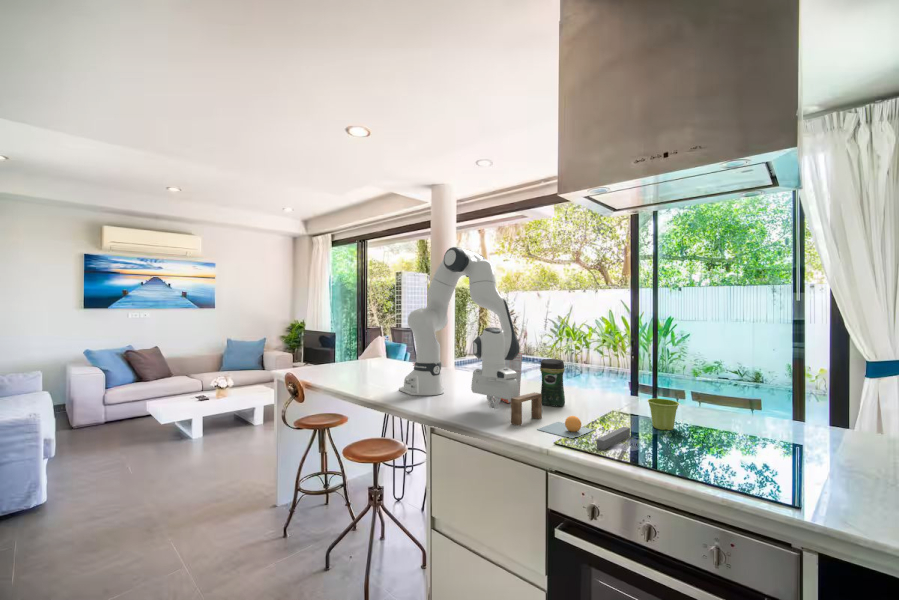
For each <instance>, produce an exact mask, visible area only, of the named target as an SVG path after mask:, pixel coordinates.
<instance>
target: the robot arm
mask: <svg viewBox="0 0 899 600" xmlns="http://www.w3.org/2000/svg"><path fill="white" fill-rule="evenodd" d="M463 276H465V277H466V278H468V283H469V285H468V287H469V295H470V298H471V300H472V301H473V303H474V304H476V305H477V306H478V307H480V308H483V309H486V310H489V311H491V312H493V313H494V314H496V316H497V317H498V319H499V322H500V328H499V327H493V326H492V327H491V326H490V327H487V328H484V329H483V331H482V334H481V335H478V336H476V338H475V339H474V340H473V342H472V344H473V345H472V350H473V351H472V353H473V355H474V356H475V358H477V359H478V360H482V361H481V369H479V368H475V369H474V370H473V372H472V378H471V386H470V388H471V392H472V393H473V394H479V395H484V396H486V399H487V402H488V403H489V404H488V405H489V408H490V409H494V410H498V409H499V404H500V402H501V401H502V400H501V398H503V399H508V400H511V398H514V397H518V383H517V380H516V379H515V377H517V373H516V372H515V371H513V370H512V369H510V368H508V367H506V366H505V360H513V359H514V358H516V357H517V355H518V354H519V353H521V352H520V351H521V348H520V342H519V340H518V337H517V335H516V331H515V328H514V325H513V321H512V316H511V313H510V308H509V306H508V303H507V301H506V298H505V297H503V296H502V295H501V294H500V292H499V291H498V288H497V281H496V276H495V271H494V267H493V264H492V262H491V261H490V260H488V259H487V258H486V257H484V256H483V255H482V254H479V253H477V252H475V251H472V250H468V249H465V248H462V247H458V246H453V247H450V248H448V249H447V250H446V252H445V253H444V256H443V259H442V261H441V262H440V264H439V266H438V267H437V269H436V271H435V272H434V274H433V278H432V280H431V282H430V285H429V287H428V290H427V293H426V295H427V299H428V300H427V305H426V307H421V308H417V309H415V310H412V311H411V312H410V313H409V314H408V316H407V326H408V327H409V329H410V330H411V331H412V334H413V337H414V341H415V347H416V350H415V351H416V352H415V353H416V356H415V358H416V361H415V362H413V363H412V366H413V370H412V371H411V372H410V373H408V374H407V375H406V376H405V377H404V379H403V380H404V381H403V386H401V387H398V391H400V392H403V393H405V394H408V395H410V396H436V395H437V396H438V395H442V394H443V393H444V390H445V389H444V387H443V376H442V372H441V370H442V362H441V344H440V342H439V341H438V339H437V335H436V332H439V331H441V330H443V329H444V328H446V326H447V325H448V322H449V317H448V309H449V305H450V301H451V299H452V296H453V294H454V291H455V289H456V286H457V284H458V281H459V279H460V278H461V277H463ZM493 399H494V400H495V401H494V400H493Z"/></svg>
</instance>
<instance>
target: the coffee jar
mask: <svg viewBox="0 0 899 600" xmlns="http://www.w3.org/2000/svg"><path fill="white" fill-rule="evenodd" d="M539 367H540V368H539V370H540V373H541V387H540V393H541V394H542V406H547V405H548V406H547V407H564V406H565V403H566V398H565V388H564V373H565V371H566V369H565V362H564V360H563V359H559V358H557V359H556V358H544V359H541V361H540V366H539Z"/></svg>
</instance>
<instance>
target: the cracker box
mask: <svg viewBox="0 0 899 600" xmlns="http://www.w3.org/2000/svg"><path fill="white" fill-rule="evenodd" d="M522 361H523V353H522V352H519V354H518V355H517V357H516V358H514V359H513V360H505V366H506V367H508V368H510V369H512V370H513V371H515V372H516V373H517V377H515V379H516V380H517V383H518V396H521V382H522V381H521V380H522V379H521V378H522V363H523V362H522ZM500 401H503V402H504V403H506V404H511V400H508V399H503V398H501V400H500Z"/></svg>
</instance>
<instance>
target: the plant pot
mask: <svg viewBox="0 0 899 600" xmlns="http://www.w3.org/2000/svg"><path fill="white" fill-rule="evenodd" d="M647 402H648V406H649V408H650V415H651V423H652V427H654V428H655V429H656V430H661V431H665V430H668V431H672V430H674V428H675V423H676V421H675V420H676V414H677V410H678V407H679V406H680V402H678V401H676V400H673V399H665V398H649V399H647Z"/></svg>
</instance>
